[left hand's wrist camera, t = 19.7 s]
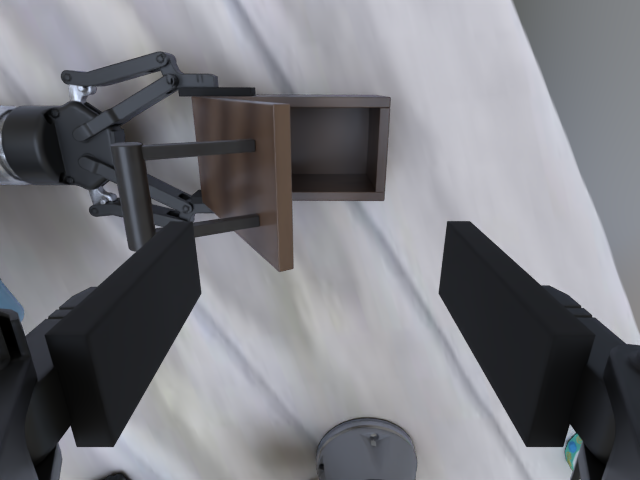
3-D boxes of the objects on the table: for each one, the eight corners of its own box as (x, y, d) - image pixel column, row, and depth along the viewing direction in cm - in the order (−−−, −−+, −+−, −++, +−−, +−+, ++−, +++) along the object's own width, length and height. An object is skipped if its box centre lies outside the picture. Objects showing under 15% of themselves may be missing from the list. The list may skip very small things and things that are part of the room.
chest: (377, 95, 44) (390, 97, 35) (372, 180, 47) (384, 201, 38) (223, 94, 44) (198, 96, 35) (229, 179, 47) (209, 200, 38)
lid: (290, 103, 21) (107, 107, 17) (293, 269, 24) (141, 304, 20) (202, 96, 35) (92, 97, 31) (212, 201, 38) (113, 214, 34)
